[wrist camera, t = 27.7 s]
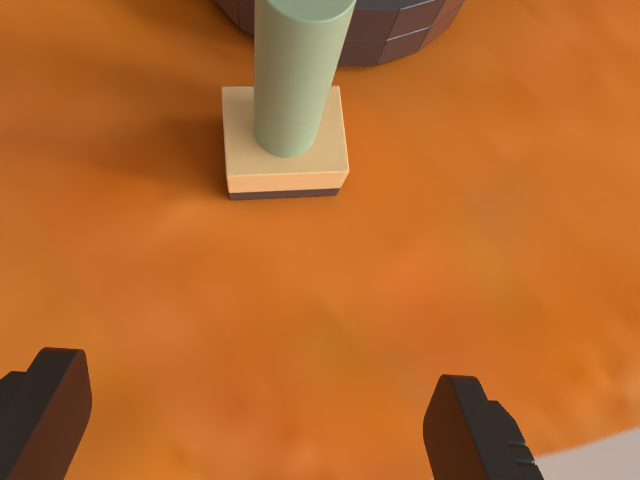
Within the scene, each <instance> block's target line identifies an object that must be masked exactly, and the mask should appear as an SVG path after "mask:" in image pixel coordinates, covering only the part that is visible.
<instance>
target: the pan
mask: <svg viewBox="0 0 640 480" xmlns="http://www.w3.org/2000/svg"><path fill="white" fill-rule="evenodd" d="M214 1H215V2H216V3H217V4H218V5H219V6H220V7H221V8H222V9H223V10H224V12H225V13H226V14H227V15H228V16H229V17H230V18H231V19H232V20H233V21H234V22H235V24H236V25H237V26H238V27H240V28H241V29H242V30H244V31H245V32H247V33H249V34H250V35H252V36H254V31H255V0H214ZM464 1H465V0H356V3H355V7H354V10H353V13H352V17H351V20H350V23H349V27H348V30H347V34H346V37H345V40H344V44H343V47H342V50H341V54H340V57H339V60H338V64H337V66H375V65H379V64H382V63H385V62H388V61H392V60H395V59H398V58H401V57H404V56H407V55H410V54H414V53H416V52H418V51H419V50H420V49H422V48H423V47H424V46H426V45H427V44H428V43H430V42H431V41H432V40H433V39H435V38H436V37H437V36H439V35H440V34H441V33H443V32H444V31H445V30H447V29H448V27H449V26H450V24H451V22H452V21H453V19H454V17H455V16H456V14H457V13H458V11H459V9H460V8H461V6H462V4H463V3H464Z"/></svg>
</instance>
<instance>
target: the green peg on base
mask: <svg viewBox="0 0 640 480" xmlns="http://www.w3.org/2000/svg"><path fill="white" fill-rule="evenodd" d="M355 3H356V0H255V31H254V86H233V87H222V88H221V93H222V111H223V129H224V147H225V165H226V178H227V186H228V193H229V199H230V200H249V199H270V198H291V197H312V196H333V195H337V193H338V191H339V190H340V188H341V186H342V184H343V182H344V180H345V178H346V176H347V175H348V173H349V165H348V156H347V148H346V139H345V131H344V123H343V114H342V106H341V98H340V89H339V86H331V84H332V81H333V77H334V74H335V71H336V67H337V64H338V60H339V57H340V54H341V50H342V47H343V44H344V40H345V37H346V34H347V30H348V27H349V23H350V20H351V17H352V13H353V10H354V7H355Z"/></svg>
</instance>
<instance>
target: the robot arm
mask: <svg viewBox="0 0 640 480" xmlns="http://www.w3.org/2000/svg"><path fill="white" fill-rule="evenodd" d="M91 407H92V394H91V387H90V380H89V374H88V367H87V360H86V354H85V352H84V350H81V349H66V348H51V347H45V348H43V349H42V350H41V351H40V352H39V353H38V354H37V356H36V357H35V359H34V361H33V362H32V364H31V365H30V367H29V368H28V370H27V371H26V372H18V371H11V372H10V373H8V374H7V375H6V376H5V377H3V378H2V379H1V380H0V480H63V479H64V477H65V475H66V472H67V470H68V468H69V466H70V463H71V461H72V459H73V456H74V454H75V452H76V450H77V447H78V445H79V443H80V441H81V438H82V436H83V434H84V431H85V429H86V427H87V424H88V421H89V418H90V413H91ZM423 438H424V444H425V447H426V451H427V455H428V458H429V462H430V465H431V469H432V473H433V476H434V480H544V479H543V476H542V474H541V472H540V470H539V468H538V466H537V465H535V463H534V461H535V460H534V458H533V456H532V454H531V452H530V450H529V448H528V447H526V444H525V443H526V442H525V440H524V438H523V436H522V434H521V431H520V429H519V427H518V425H517V423H516V421H515V420H514V419H513V418H512V416H511V415H510V414H509V413H508V412H507V411H506V410H505V409H504V408H503V407H502V406H501V404H500V403H499V402H498V401H488V399H487V397H486V395H485V393H484V391H483V388H482V386H481V384H480V382H479V380H478V379H477V378H476V377H474V376H461V375H445V374H443V375H442V376H441V377H440V378H439V380H438V383H437V385H436V388H435V391H434V393H433V396H432V398H431V401H430V403H429V406H428V409H427V411H426V414H425V417H424V422H423Z"/></svg>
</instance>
